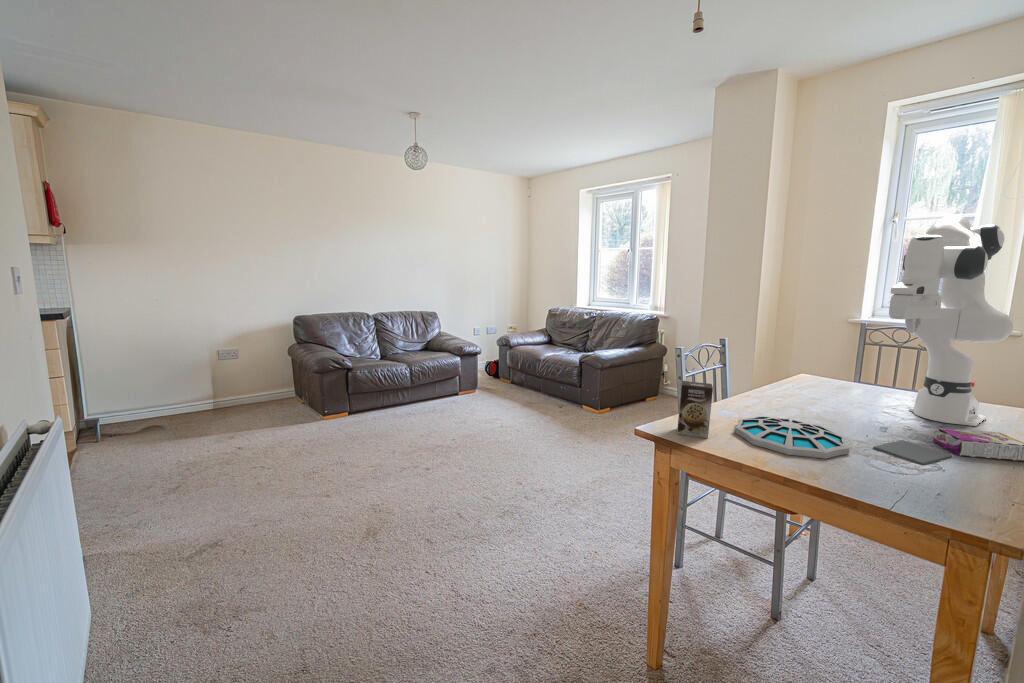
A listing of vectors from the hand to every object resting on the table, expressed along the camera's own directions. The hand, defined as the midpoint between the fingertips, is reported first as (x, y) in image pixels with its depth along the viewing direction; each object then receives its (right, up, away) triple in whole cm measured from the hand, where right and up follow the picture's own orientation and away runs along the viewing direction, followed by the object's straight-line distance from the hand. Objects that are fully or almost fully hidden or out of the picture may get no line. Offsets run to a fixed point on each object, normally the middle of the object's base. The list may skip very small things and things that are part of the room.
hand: (912, 332), depth 141 cm
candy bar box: (+2, -32, -9) cm, 33 cm away
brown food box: (-68, -32, +1) cm, 76 cm away
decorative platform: (-40, -33, -2) cm, 52 cm away
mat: (-11, -35, -12) cm, 38 cm away
